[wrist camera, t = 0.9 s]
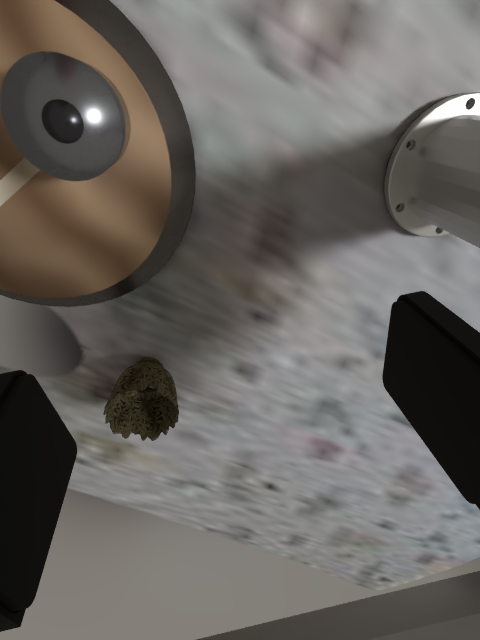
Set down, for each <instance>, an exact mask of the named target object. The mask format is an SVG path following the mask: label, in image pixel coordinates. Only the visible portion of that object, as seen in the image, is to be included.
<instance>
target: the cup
mask: <svg viewBox="0 0 480 640" xmlns="http://www.w3.org/2000/svg"><path fill="white" fill-rule="evenodd" d="M106 413H107V414H106ZM105 414H106V423H108V422H110V428H111V430H112V432H113V433H114V434H118V433H119V434H122V437H124V438H125V439H126V438H128V437H129V435H130V434H131V432H132V433H134V434H135V435H136V434H140V436H141V439H142V440H143V441H144V440H145V439H146V438H147V436H148V438H150V439H151V440H152V441H154V440H156V439H157V438H158V437H159V435H160V433H161V432H163V433H164V434H165V435H166V434H167V432H168V431H169V426H171V427H172V428H174V427H175V423H176V422H178V414H179V410H178V403H177V394H176V388H175V383H174V380H173V378H172V376H171V374H170V373H169V372H168V371H167V370H166V369H165V368H164V367H163V365H162V364H161V363H160V362H159V361H158V360H156V359H154V358H144V359H141V360H139V361H138V362H137V363H136V364H135V365H132V366H130V367H129V368H127V369H126V370H125V371H124V372H123V373H122V374H121V376H120V377H119V379H118V380H117V382H116V384H115V386H114V389H113V391H112V393H111V395H110V398H109V400H108V402H107V404H106V406H105V411H104V415H105Z"/></svg>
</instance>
